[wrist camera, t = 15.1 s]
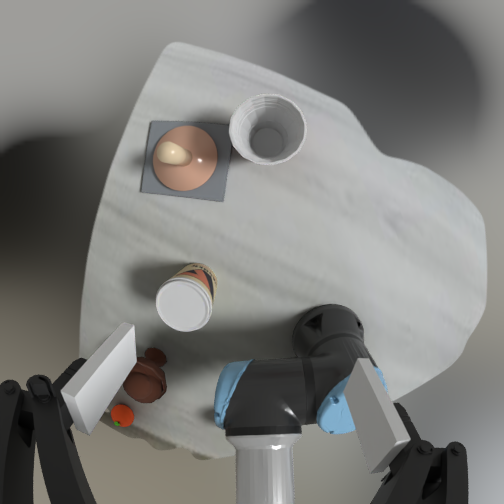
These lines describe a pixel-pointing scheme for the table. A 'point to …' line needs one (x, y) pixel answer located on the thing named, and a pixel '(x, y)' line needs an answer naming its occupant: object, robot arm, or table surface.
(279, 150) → the plastic cup
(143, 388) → the ice cream bowl
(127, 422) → the clementine
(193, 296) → the coffee cup
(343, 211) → the table surface
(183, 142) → the lid
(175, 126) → the mat
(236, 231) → the table surface
